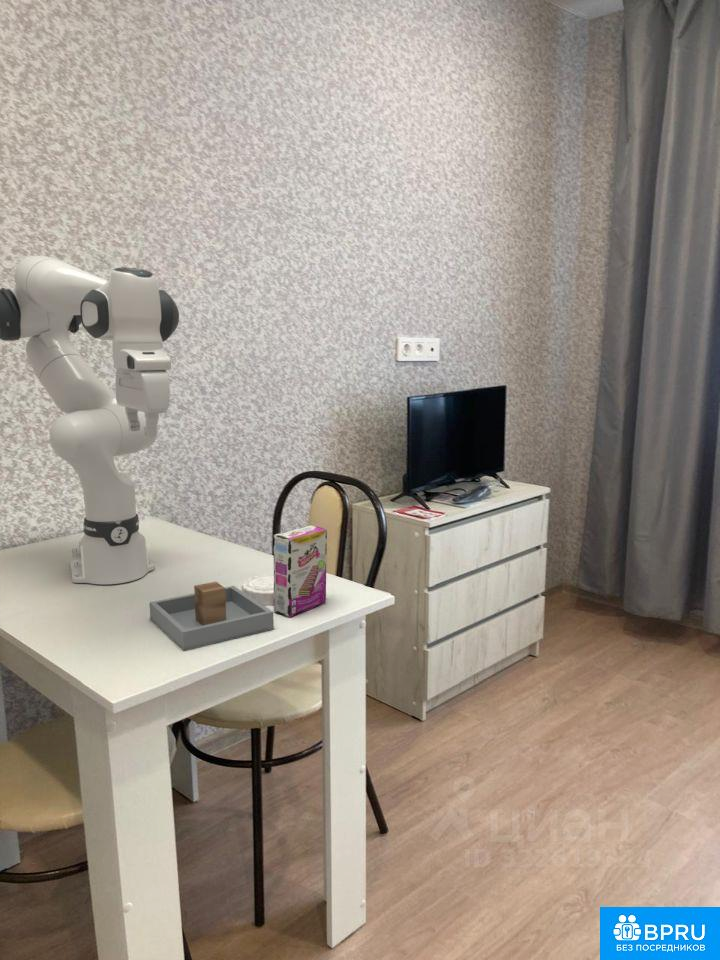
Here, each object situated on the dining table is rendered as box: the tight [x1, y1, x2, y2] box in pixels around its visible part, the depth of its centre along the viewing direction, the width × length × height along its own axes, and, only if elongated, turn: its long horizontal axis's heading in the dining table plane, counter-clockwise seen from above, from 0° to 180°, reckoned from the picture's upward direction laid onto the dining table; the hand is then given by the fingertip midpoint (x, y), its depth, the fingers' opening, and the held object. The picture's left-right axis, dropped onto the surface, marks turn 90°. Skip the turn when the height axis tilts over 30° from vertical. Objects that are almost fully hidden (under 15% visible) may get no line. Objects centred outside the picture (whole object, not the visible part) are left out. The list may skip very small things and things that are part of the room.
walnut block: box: [193, 581, 226, 626], centre depth 144 cm, size 4×4×7 cm
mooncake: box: [241, 573, 274, 607], centre depth 160 cm, size 12×12×4 cm
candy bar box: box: [273, 525, 328, 618], centre depth 152 cm, size 11×5×16 cm, turn 141°
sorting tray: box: [149, 585, 275, 652], centre depth 144 cm, size 18×18×4 cm
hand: (142, 433), depth 139 cm, fingers open, 8 cm apart
